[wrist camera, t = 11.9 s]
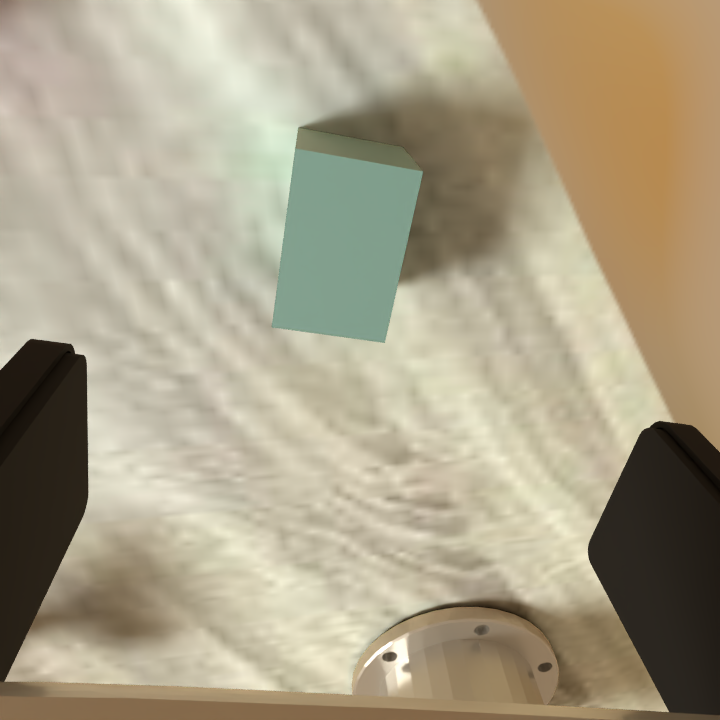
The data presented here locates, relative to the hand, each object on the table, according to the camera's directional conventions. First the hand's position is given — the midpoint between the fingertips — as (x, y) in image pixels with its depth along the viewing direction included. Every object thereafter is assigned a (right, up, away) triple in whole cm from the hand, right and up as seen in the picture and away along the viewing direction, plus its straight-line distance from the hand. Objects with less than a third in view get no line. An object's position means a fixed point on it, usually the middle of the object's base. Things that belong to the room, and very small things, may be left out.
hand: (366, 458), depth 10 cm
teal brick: (-1, +8, +14) cm, 16 cm away
